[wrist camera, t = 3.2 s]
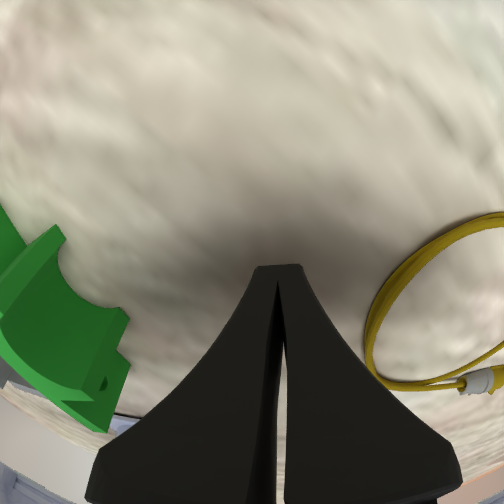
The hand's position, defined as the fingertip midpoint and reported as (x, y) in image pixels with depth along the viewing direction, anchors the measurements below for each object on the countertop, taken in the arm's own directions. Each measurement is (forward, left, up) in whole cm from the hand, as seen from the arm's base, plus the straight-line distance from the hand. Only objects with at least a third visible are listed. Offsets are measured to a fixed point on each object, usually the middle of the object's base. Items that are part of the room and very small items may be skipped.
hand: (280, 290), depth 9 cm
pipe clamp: (0, +9, -1) cm, 9 cm away
